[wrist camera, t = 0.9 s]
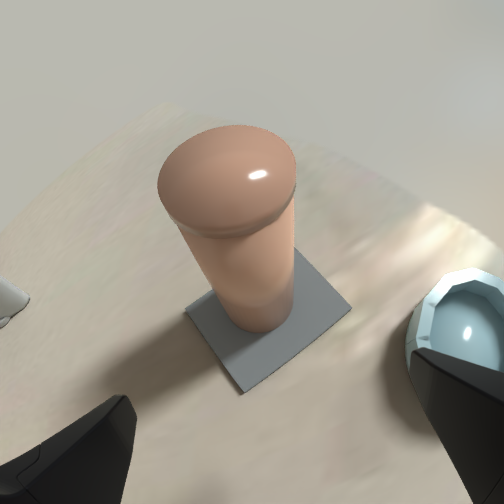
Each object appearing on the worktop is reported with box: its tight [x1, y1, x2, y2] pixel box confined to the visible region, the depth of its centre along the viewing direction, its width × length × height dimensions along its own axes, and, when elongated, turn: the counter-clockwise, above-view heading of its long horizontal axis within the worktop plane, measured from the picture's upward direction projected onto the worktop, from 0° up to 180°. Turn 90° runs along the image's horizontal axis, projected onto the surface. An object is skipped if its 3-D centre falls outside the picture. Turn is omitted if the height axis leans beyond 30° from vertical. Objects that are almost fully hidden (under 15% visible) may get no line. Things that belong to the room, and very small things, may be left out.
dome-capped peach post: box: [157, 125, 296, 333], centre depth 18 cm, size 5×5×14 cm
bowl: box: [405, 268, 504, 376], centre depth 18 cm, size 11×11×3 cm
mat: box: [185, 247, 352, 393], centre depth 23 cm, size 10×8×1 cm
